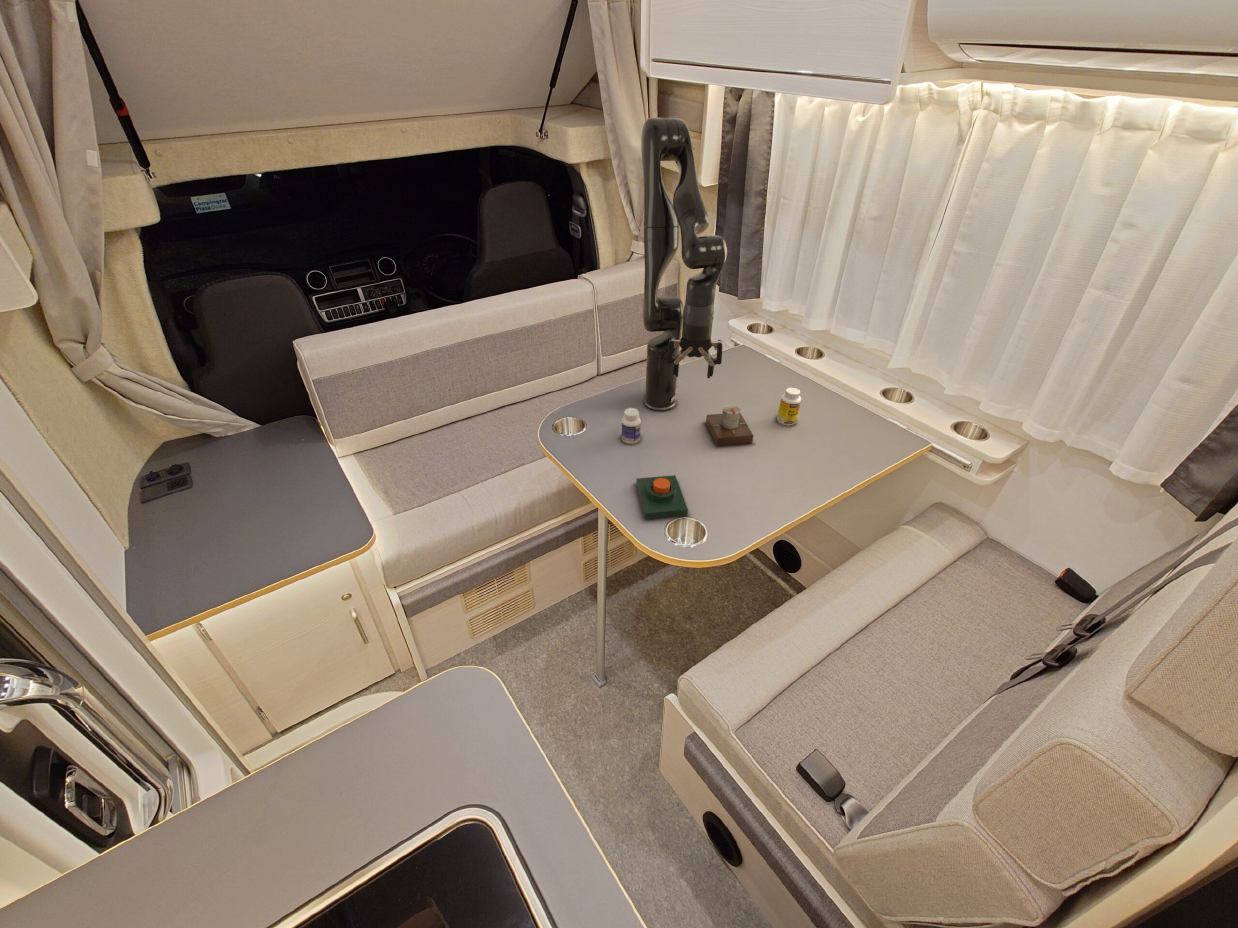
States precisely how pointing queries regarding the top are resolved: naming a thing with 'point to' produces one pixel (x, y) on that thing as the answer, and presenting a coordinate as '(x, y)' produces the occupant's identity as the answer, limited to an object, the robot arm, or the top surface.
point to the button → (661, 486)
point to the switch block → (661, 499)
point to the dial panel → (728, 432)
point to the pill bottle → (631, 426)
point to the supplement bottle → (789, 407)
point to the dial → (730, 416)
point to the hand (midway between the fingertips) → (692, 376)
